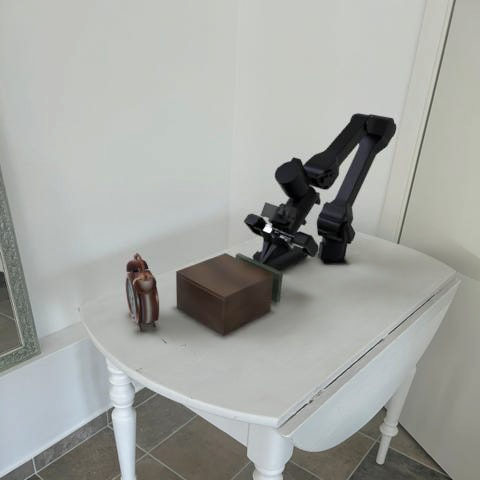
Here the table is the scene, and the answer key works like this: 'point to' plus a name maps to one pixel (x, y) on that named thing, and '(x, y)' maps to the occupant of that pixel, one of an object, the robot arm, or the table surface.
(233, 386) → the table surface
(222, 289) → the cabinet
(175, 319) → the table surface
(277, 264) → the carrying case
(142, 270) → the alarm clock
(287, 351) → the table surface
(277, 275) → the drawer
